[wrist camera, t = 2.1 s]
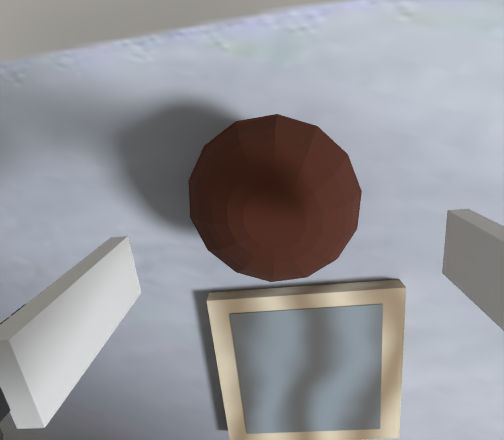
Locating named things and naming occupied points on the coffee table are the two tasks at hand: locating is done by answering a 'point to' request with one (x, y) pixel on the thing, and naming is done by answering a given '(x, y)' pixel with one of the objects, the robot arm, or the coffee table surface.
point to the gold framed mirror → (311, 360)
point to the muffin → (274, 198)
